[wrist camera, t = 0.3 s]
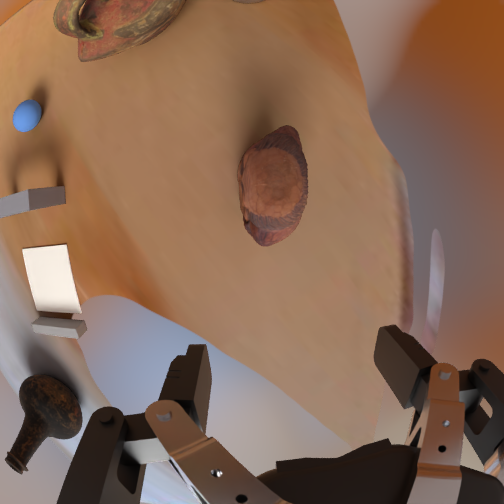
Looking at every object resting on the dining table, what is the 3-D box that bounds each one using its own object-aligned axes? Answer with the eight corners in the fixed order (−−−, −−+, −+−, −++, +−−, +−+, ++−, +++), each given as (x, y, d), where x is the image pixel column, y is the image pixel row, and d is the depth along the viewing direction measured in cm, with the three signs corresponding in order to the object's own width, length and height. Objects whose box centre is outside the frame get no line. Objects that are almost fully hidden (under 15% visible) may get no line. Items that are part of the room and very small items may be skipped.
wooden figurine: (236, 145, 36) (232, 112, 19) (281, 144, 36) (313, 113, 19) (239, 226, 39) (237, 261, 22) (283, 225, 39) (316, 258, 22)
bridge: (13, 199, 36) (-20, 205, 27) (64, 185, 36) (27, 189, 27) (14, 214, 37) (-19, 223, 27) (65, 203, 37) (29, 210, 28)
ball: (28, 108, 32) (9, 103, 26) (48, 98, 32) (29, 92, 26) (25, 136, 33) (5, 134, 27) (46, 128, 33) (25, 124, 27)
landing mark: (22, 249, 38) (22, 249, 38) (66, 244, 39) (66, 244, 38) (37, 310, 42) (37, 310, 41) (82, 313, 42) (81, 313, 42)
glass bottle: (35, 391, 48) (-11, 454, 21) (34, 351, 44) (-30, 421, 17) (86, 426, 50) (51, 500, 23) (94, 392, 47) (45, 483, 20)
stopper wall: (39, 316, 42) (30, 323, 39) (84, 320, 42) (75, 329, 39) (42, 325, 42) (34, 332, 39) (87, 329, 43) (78, 338, 39)
